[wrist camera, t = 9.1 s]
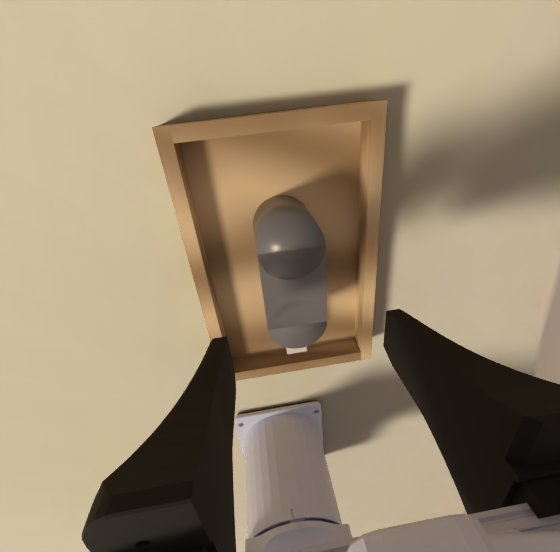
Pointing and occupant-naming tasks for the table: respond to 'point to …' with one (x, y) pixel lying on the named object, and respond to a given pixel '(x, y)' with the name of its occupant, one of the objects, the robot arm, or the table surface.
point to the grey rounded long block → (291, 272)
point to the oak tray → (268, 183)
